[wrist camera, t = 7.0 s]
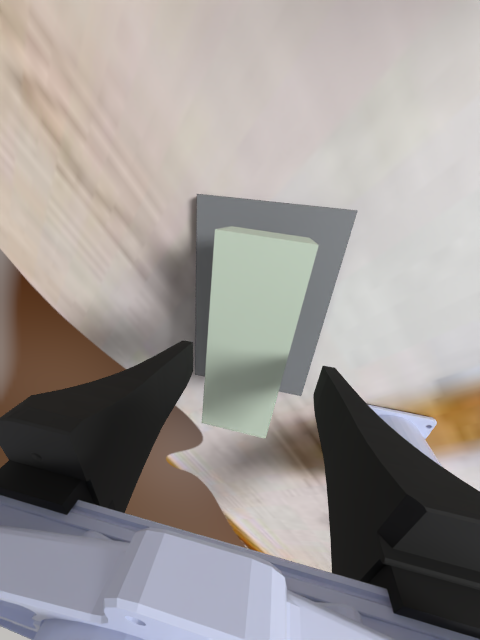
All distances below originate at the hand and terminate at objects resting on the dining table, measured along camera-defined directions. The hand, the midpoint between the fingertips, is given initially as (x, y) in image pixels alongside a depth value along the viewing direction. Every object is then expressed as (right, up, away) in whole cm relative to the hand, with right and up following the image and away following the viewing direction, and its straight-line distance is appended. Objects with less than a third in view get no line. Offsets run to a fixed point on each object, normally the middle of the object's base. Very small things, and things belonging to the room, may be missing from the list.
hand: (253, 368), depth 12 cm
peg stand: (+1, +4, +9) cm, 10 cm away
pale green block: (0, +2, +5) cm, 5 cm away
